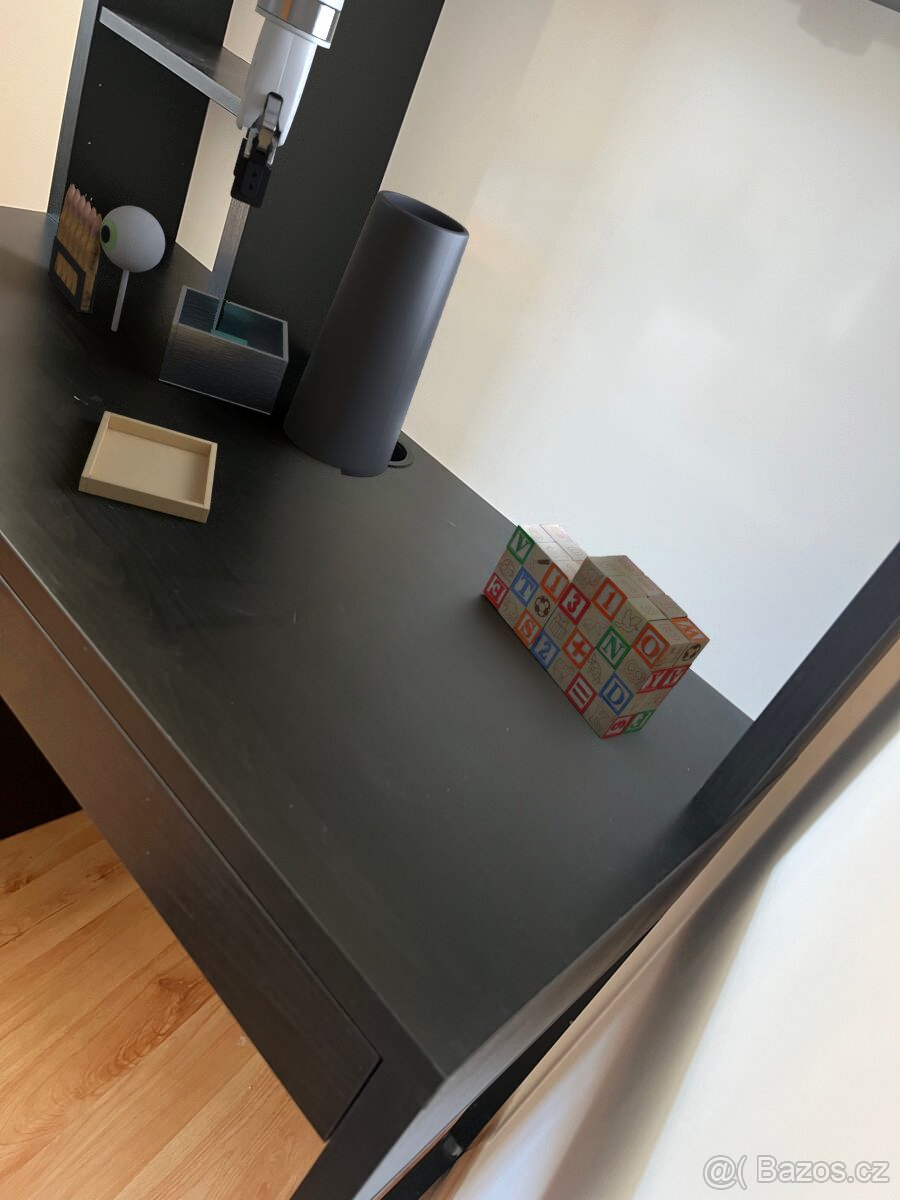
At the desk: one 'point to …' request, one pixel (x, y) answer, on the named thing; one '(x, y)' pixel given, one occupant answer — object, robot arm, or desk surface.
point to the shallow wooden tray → (150, 467)
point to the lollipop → (131, 245)
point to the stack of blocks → (594, 626)
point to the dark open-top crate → (225, 353)
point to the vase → (376, 336)
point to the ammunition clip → (77, 252)
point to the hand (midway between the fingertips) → (245, 191)
